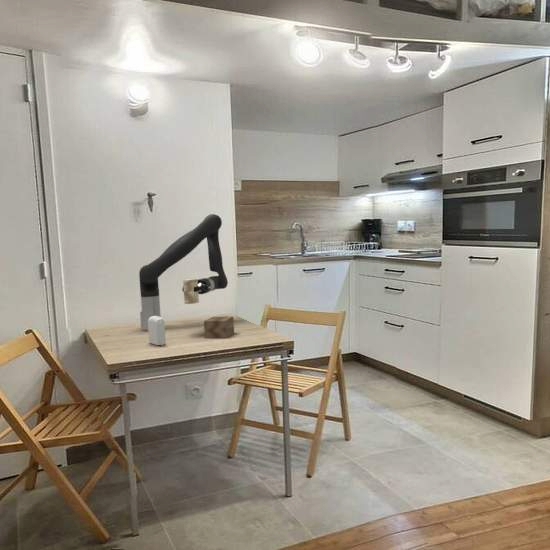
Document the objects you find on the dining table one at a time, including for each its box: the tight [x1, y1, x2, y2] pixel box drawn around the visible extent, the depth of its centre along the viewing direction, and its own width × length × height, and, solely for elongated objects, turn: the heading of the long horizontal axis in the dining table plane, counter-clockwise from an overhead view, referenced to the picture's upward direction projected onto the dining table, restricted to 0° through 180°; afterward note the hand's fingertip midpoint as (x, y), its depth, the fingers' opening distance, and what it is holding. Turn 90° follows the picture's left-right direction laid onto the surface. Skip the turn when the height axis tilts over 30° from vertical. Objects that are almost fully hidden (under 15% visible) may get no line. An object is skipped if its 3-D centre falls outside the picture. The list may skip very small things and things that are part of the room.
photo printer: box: [148, 316, 167, 346], centre depth 204 cm, size 10×4×12 cm, turn 39°
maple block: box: [182, 278, 200, 305], centre depth 219 cm, size 5×5×11 cm
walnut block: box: [203, 316, 235, 339], centre depth 217 cm, size 10×12×8 cm
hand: (189, 289), depth 217 cm, fingers closed on maple block, 5 cm apart
